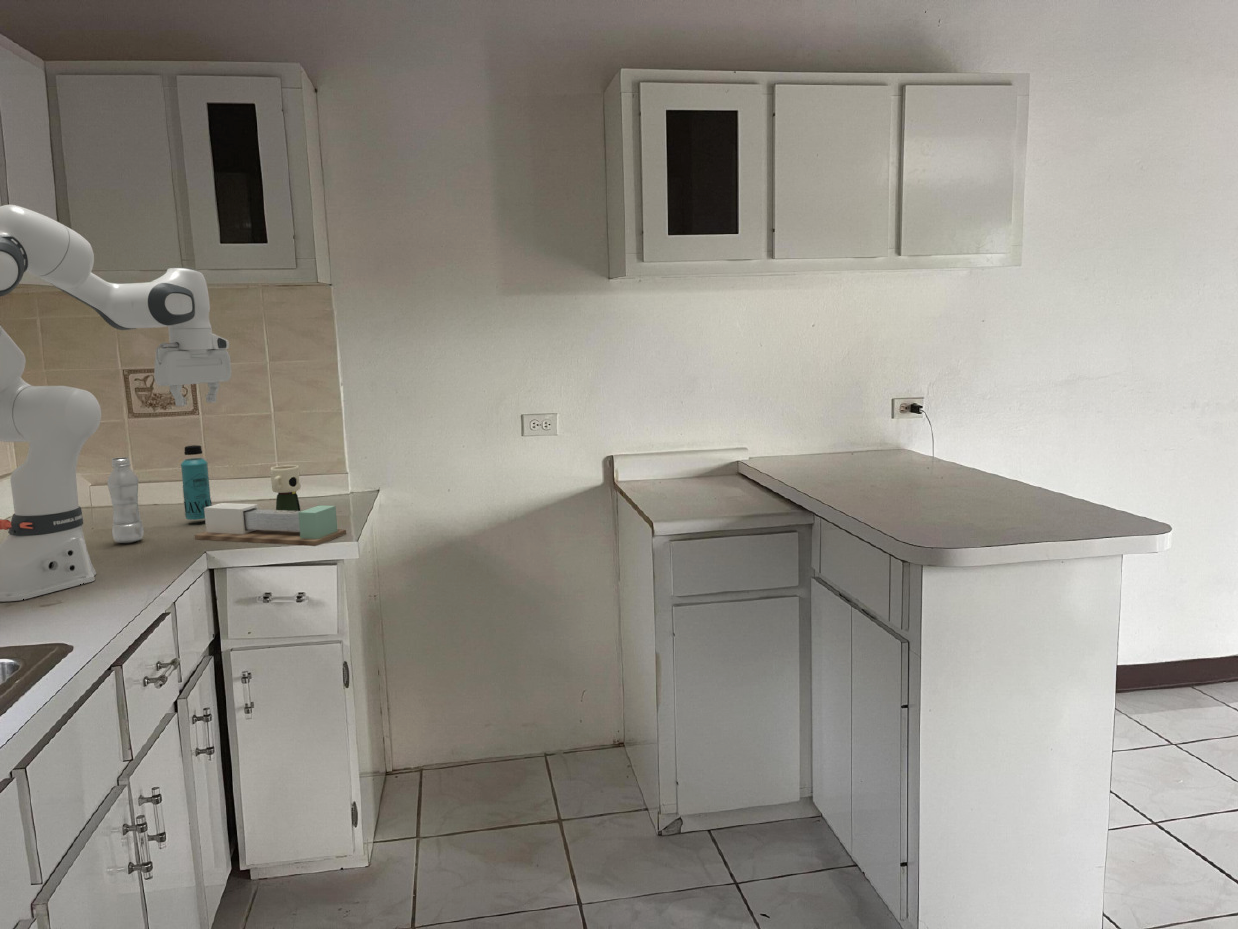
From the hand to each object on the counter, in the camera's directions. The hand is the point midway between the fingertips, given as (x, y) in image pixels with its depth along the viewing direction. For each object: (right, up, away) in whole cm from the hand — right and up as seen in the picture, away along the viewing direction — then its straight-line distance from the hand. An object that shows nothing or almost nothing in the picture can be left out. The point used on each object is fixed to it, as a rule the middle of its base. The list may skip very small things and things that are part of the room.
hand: (196, 404), depth 213 cm
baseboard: (+12, -31, +12) cm, 35 cm away
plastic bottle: (-20, -32, +9) cm, 39 cm away
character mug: (+8, -27, +36) cm, 46 cm away
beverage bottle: (-13, -29, +30) cm, 43 cm away
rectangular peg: (+16, -29, +10) cm, 35 cm away
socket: (+25, -30, +7) cm, 40 cm away
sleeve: (+3, -30, +14) cm, 33 cm away
